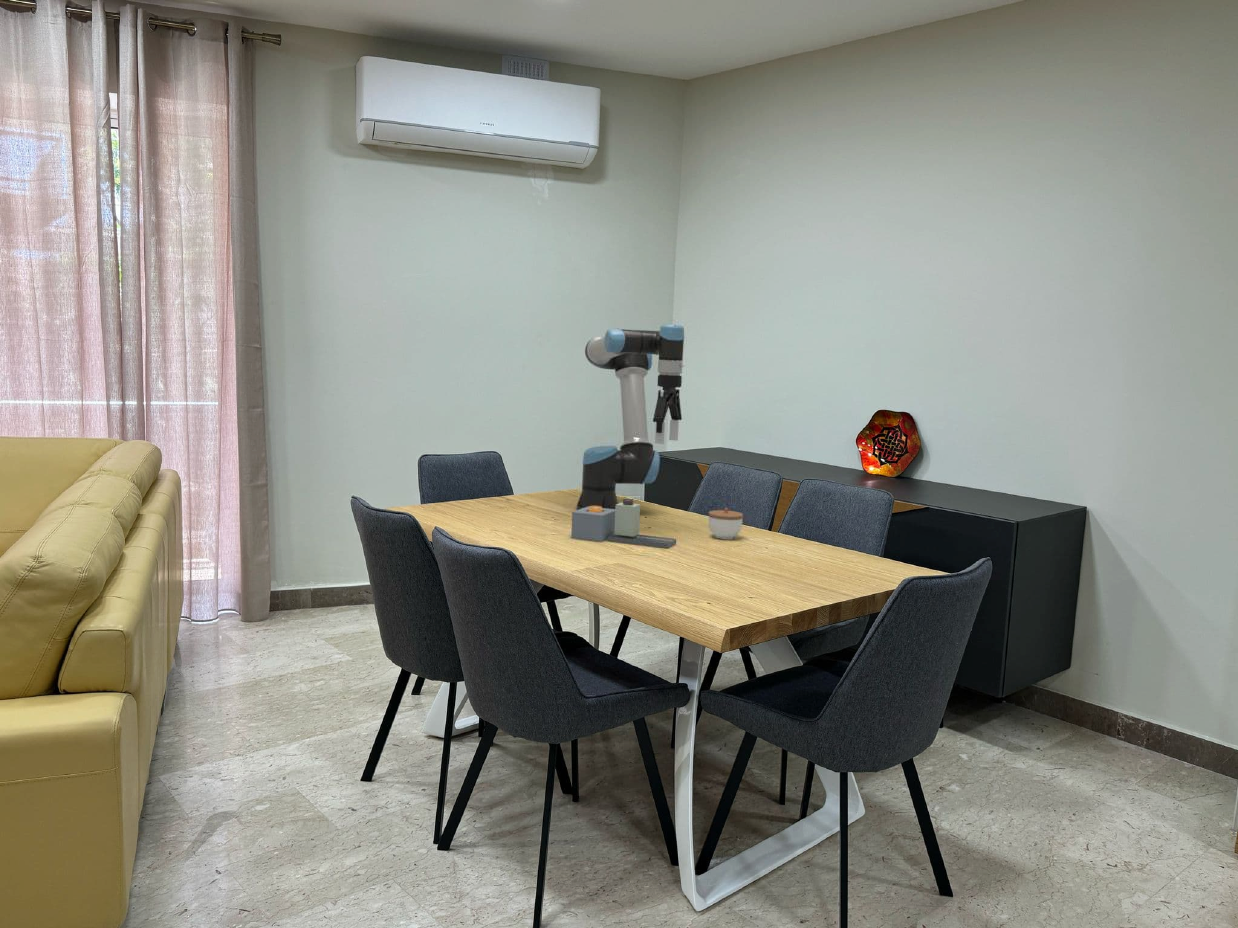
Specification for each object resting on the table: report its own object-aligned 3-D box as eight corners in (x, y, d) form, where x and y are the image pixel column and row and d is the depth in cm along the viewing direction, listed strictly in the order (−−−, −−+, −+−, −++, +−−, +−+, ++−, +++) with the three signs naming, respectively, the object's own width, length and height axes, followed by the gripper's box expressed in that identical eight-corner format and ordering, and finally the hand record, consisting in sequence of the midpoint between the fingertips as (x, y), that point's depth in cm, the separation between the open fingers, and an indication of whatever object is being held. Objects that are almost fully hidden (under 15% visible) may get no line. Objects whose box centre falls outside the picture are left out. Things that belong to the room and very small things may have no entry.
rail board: (607, 541, 281) (607, 535, 281) (617, 536, 288) (617, 531, 288) (667, 548, 274) (667, 543, 274) (676, 543, 281) (676, 538, 281)
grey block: (571, 538, 283) (572, 511, 282) (587, 531, 294) (588, 506, 293) (601, 541, 279) (602, 515, 278) (616, 535, 290) (617, 509, 289)
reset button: (586, 526, 285) (586, 507, 284) (591, 524, 289) (592, 505, 288) (598, 527, 284) (598, 508, 283) (603, 525, 287) (604, 506, 287)
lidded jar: (743, 541, 289) (745, 511, 288) (708, 540, 289) (710, 510, 288) (739, 535, 300) (741, 506, 298) (706, 533, 300) (707, 504, 299)
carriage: (614, 534, 281) (615, 499, 280) (620, 531, 286) (622, 497, 285) (633, 536, 279) (634, 501, 278) (638, 533, 284) (640, 499, 283)
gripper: (668, 375, 281) (664, 445, 283) (693, 374, 304) (689, 439, 306) (644, 374, 283) (641, 444, 286) (671, 373, 307) (668, 438, 309)
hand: (666, 442), depth 296 cm, fingers open, 13 cm apart
